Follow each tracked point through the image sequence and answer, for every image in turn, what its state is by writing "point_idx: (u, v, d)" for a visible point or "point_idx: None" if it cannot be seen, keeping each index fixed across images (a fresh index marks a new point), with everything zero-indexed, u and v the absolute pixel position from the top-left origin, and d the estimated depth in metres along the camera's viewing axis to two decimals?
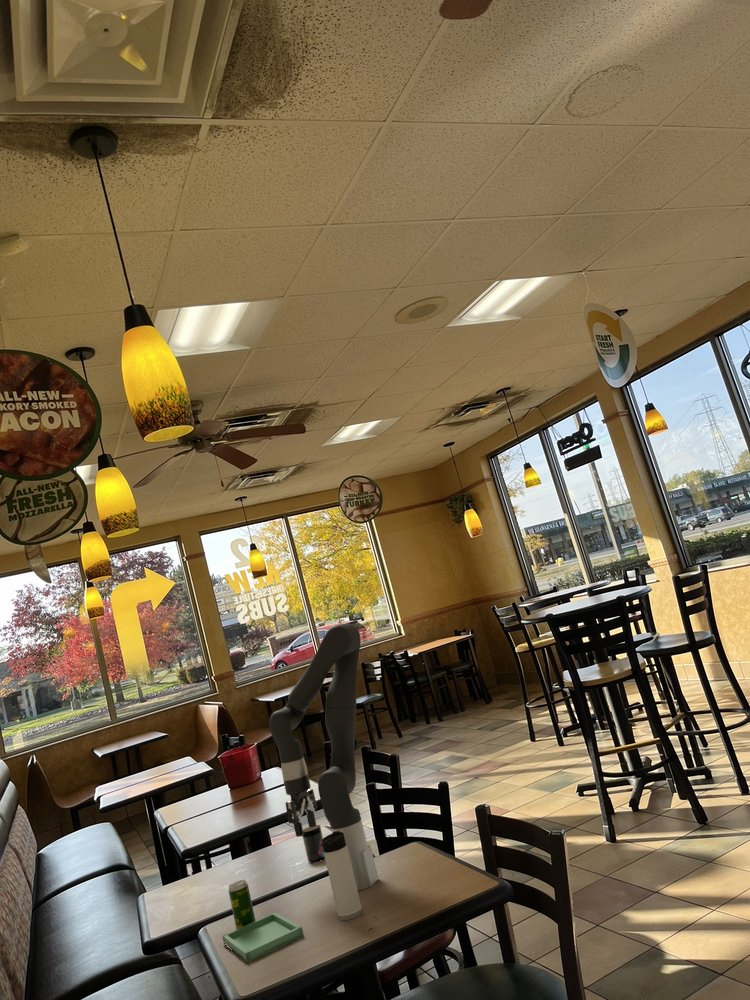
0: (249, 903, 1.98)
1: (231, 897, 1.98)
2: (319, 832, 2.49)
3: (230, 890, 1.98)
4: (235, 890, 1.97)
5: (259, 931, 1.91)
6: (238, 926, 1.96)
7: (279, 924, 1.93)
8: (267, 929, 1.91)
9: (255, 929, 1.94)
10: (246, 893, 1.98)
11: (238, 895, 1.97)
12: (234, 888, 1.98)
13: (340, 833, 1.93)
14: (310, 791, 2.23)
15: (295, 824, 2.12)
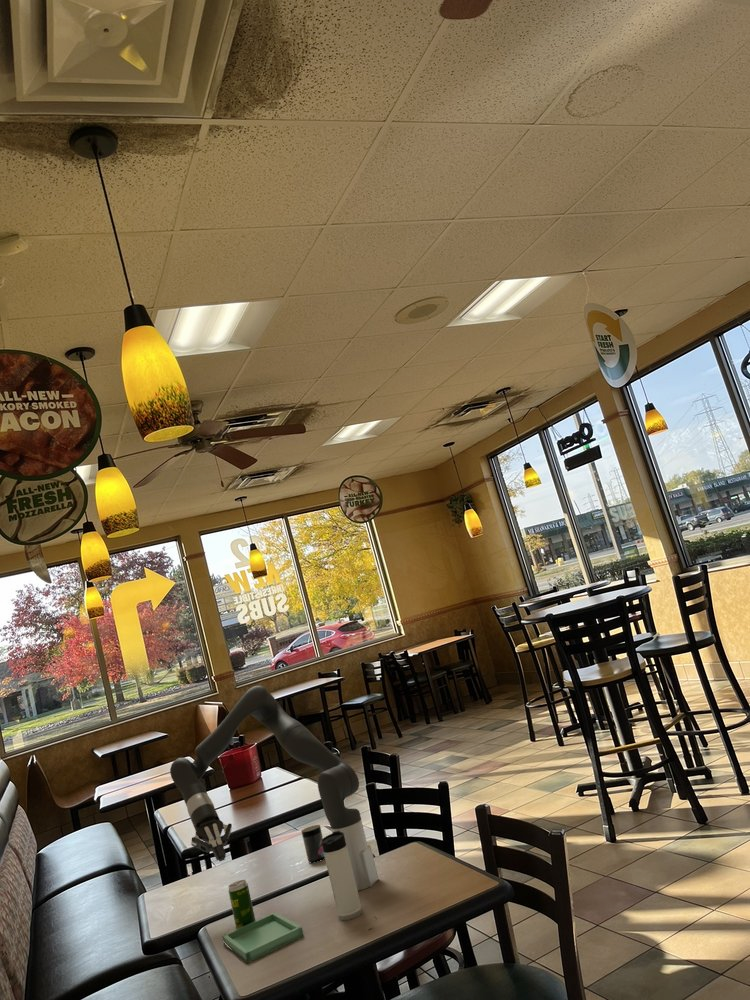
0: (249, 903, 1.98)
1: (231, 897, 1.98)
2: (319, 832, 2.49)
3: (230, 890, 1.98)
4: (235, 890, 1.97)
5: (259, 931, 1.91)
6: (238, 926, 1.96)
7: (279, 924, 1.93)
8: (267, 929, 1.91)
9: (255, 929, 1.94)
10: (246, 893, 1.98)
11: (238, 895, 1.97)
12: (234, 888, 1.98)
13: (340, 833, 1.93)
14: None
15: (222, 846, 2.13)
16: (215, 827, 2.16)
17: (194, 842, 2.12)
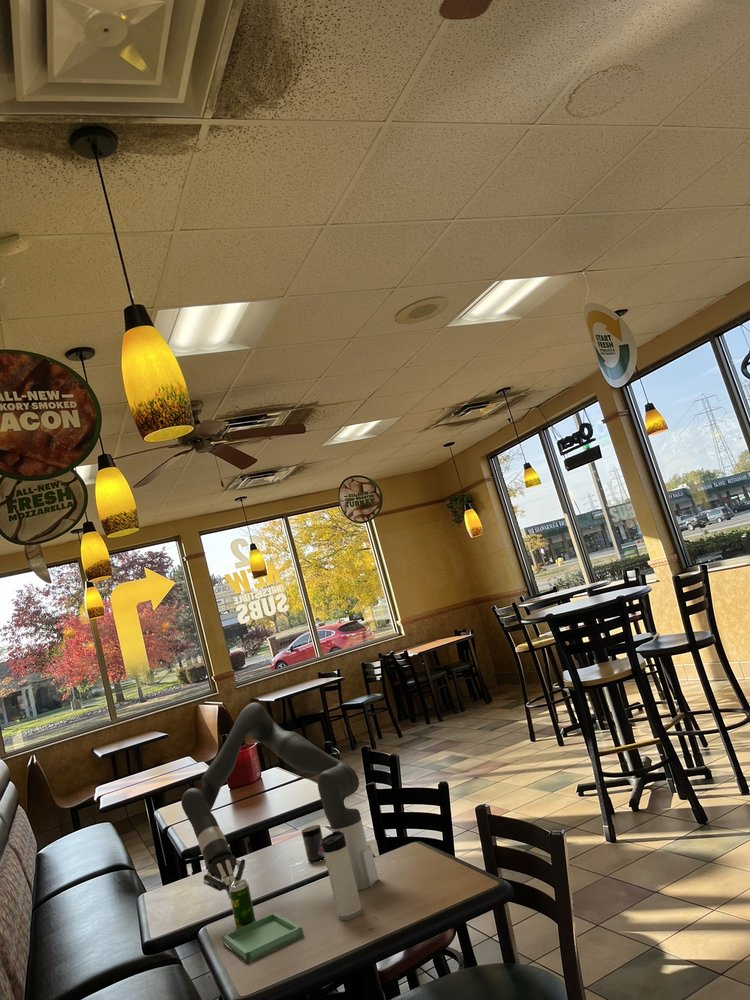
0: (249, 903, 1.98)
1: (231, 897, 1.97)
2: (319, 832, 2.49)
3: (231, 890, 1.97)
4: (236, 891, 1.97)
5: (259, 931, 1.91)
6: (238, 926, 1.96)
7: (279, 924, 1.93)
8: (267, 929, 1.91)
9: (255, 929, 1.94)
10: (247, 893, 1.98)
11: (238, 896, 1.96)
12: (235, 889, 1.97)
13: (340, 833, 1.93)
14: None
15: None
16: (228, 864, 2.08)
17: (206, 880, 2.04)
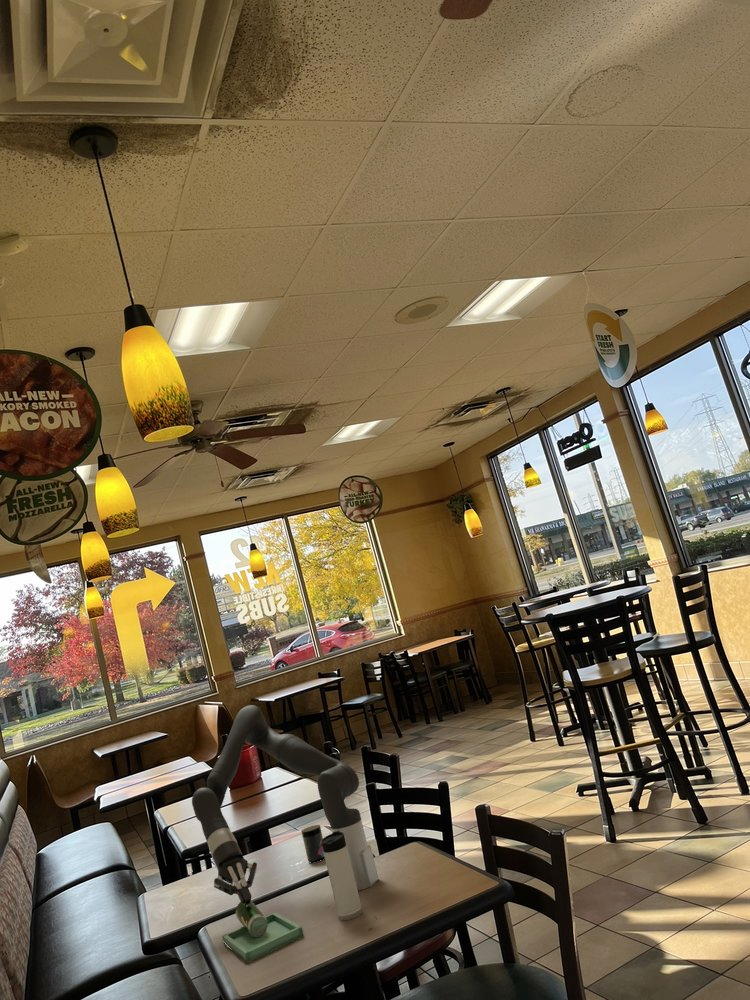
0: None
1: (246, 929, 1.88)
2: (319, 832, 2.49)
3: (249, 932, 1.87)
4: (253, 935, 1.87)
5: None
6: (238, 919, 1.95)
7: (279, 924, 1.93)
8: (267, 929, 1.91)
9: None
10: None
11: None
12: None
13: (340, 833, 1.93)
14: None
15: (247, 888, 1.97)
16: (239, 867, 2.00)
17: (217, 884, 1.96)
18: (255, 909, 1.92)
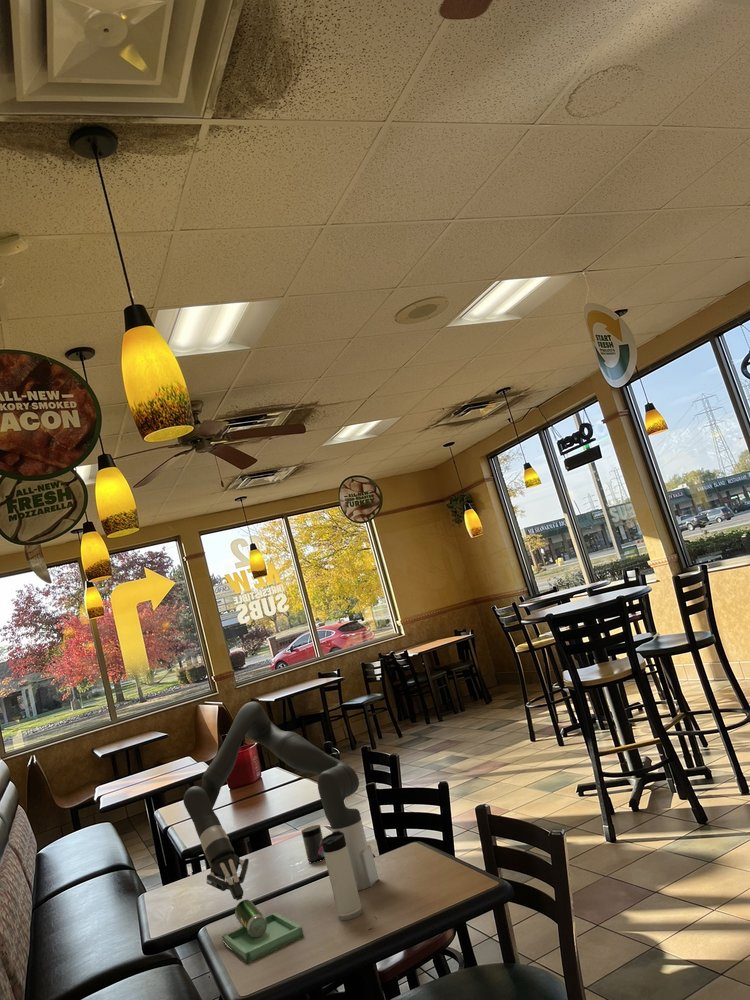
0: None
1: (246, 930, 1.88)
2: (319, 832, 2.49)
3: (248, 933, 1.87)
4: None
5: None
6: (238, 920, 1.95)
7: (279, 924, 1.93)
8: (267, 929, 1.91)
9: None
10: None
11: None
12: (253, 936, 1.87)
13: (340, 833, 1.93)
14: None
15: (239, 884, 2.01)
16: (231, 863, 2.04)
17: (209, 880, 2.00)
18: (254, 909, 1.91)
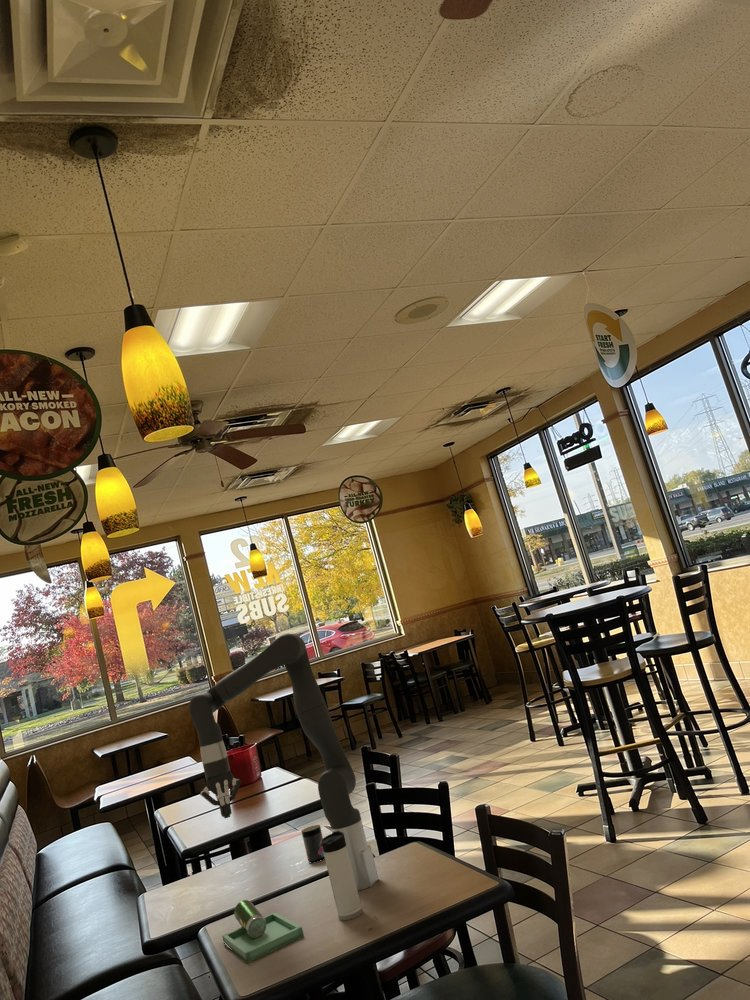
0: None
1: (246, 931, 1.88)
2: (319, 832, 2.49)
3: (248, 934, 1.87)
4: (253, 936, 1.87)
5: None
6: (238, 921, 1.95)
7: (279, 924, 1.93)
8: (267, 929, 1.91)
9: None
10: None
11: None
12: (253, 937, 1.87)
13: (340, 833, 1.93)
14: None
15: None
16: (226, 784, 2.18)
17: (204, 796, 2.16)
18: (252, 910, 1.91)
